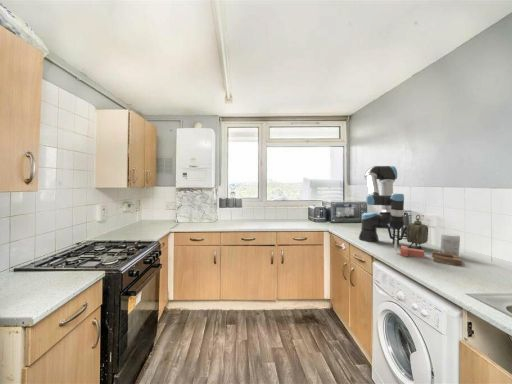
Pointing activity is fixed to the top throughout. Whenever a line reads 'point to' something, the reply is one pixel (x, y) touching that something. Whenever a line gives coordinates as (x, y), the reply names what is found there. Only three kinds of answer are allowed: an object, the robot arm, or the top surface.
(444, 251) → the supplement tub
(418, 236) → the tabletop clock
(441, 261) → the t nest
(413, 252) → the t block
